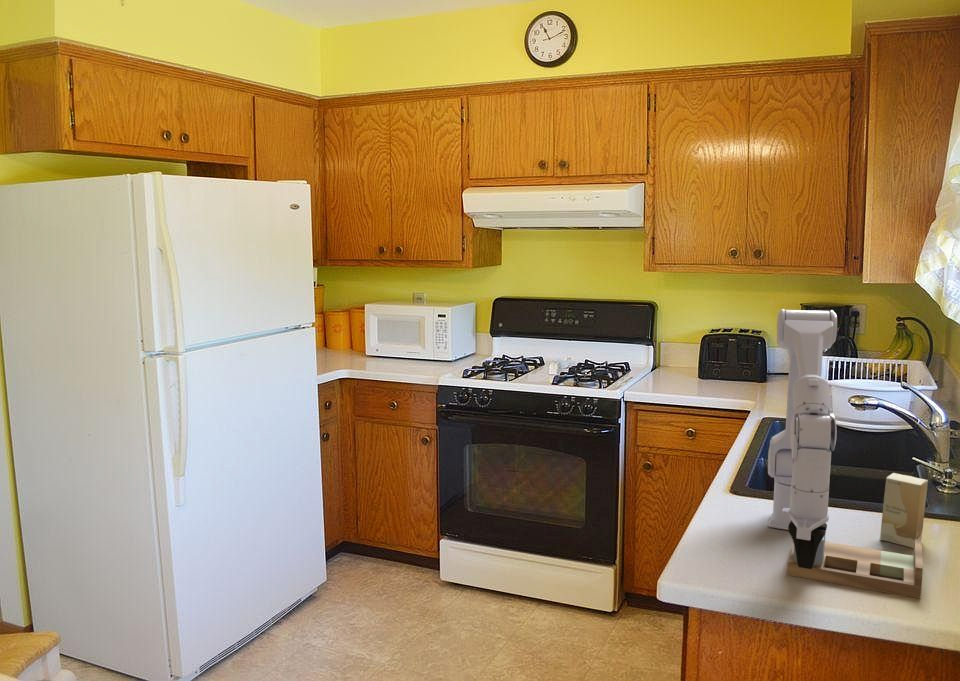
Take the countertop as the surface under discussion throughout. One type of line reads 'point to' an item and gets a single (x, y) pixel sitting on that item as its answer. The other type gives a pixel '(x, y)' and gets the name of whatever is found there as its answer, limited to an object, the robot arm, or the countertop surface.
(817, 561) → the block
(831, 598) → the countertop surface
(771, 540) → the countertop surface
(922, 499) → the skincare box
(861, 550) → the board
